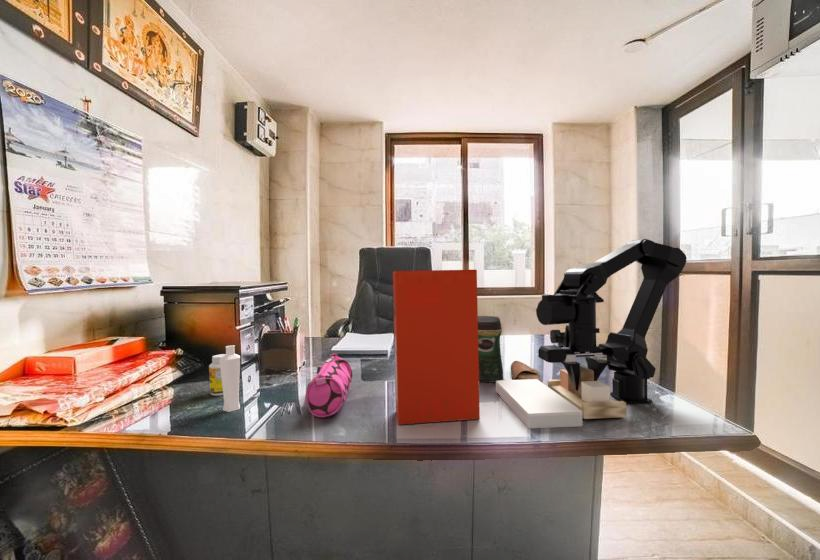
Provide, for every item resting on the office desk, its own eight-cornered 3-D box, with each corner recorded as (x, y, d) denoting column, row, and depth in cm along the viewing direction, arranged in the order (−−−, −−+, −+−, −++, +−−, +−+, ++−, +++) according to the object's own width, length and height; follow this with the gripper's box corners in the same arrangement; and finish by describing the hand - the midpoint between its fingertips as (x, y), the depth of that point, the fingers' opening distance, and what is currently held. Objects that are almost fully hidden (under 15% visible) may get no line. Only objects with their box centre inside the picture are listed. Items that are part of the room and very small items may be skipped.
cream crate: (599, 398, 79) (598, 380, 79) (610, 405, 75) (609, 386, 75) (581, 399, 79) (581, 381, 79) (591, 406, 75) (591, 387, 75)
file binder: (395, 410, 81) (392, 271, 80) (468, 406, 83) (466, 270, 82) (398, 425, 73) (395, 271, 72) (479, 420, 75) (477, 269, 74)
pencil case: (317, 389, 98) (316, 353, 98) (352, 387, 99) (352, 352, 99) (301, 421, 76) (300, 375, 76) (347, 418, 77) (346, 373, 77)
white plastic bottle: (238, 403, 88) (237, 343, 87) (245, 408, 85) (243, 345, 84) (218, 408, 84) (216, 346, 84) (224, 413, 81) (222, 348, 81)
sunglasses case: (546, 389, 93) (532, 367, 94) (523, 401, 95) (509, 379, 95) (538, 371, 111) (526, 352, 111) (518, 381, 112) (507, 363, 113)
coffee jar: (502, 375, 107) (501, 314, 106) (503, 383, 99) (502, 317, 99) (470, 374, 109) (469, 314, 108) (468, 382, 101) (467, 317, 101)
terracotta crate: (575, 384, 89) (575, 368, 89) (584, 389, 85) (584, 373, 85) (560, 385, 89) (559, 369, 89) (568, 390, 85) (567, 373, 85)
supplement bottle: (211, 391, 98) (210, 354, 97) (233, 388, 100) (232, 352, 100) (208, 397, 92) (207, 358, 92) (232, 394, 95) (231, 356, 94)
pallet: (582, 390, 91) (581, 359, 90) (626, 417, 74) (625, 378, 73) (547, 391, 90) (547, 360, 90) (584, 418, 73) (583, 380, 73)
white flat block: (537, 390, 93) (537, 379, 93) (582, 426, 71) (582, 411, 71) (496, 391, 92) (495, 380, 92) (528, 428, 70) (528, 413, 70)
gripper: (600, 317, 90) (601, 378, 90) (528, 319, 89) (529, 380, 89) (630, 323, 79) (630, 392, 79) (548, 325, 78) (549, 396, 78)
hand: (582, 389), depth 82 cm, fingers closed on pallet, 3 cm apart
